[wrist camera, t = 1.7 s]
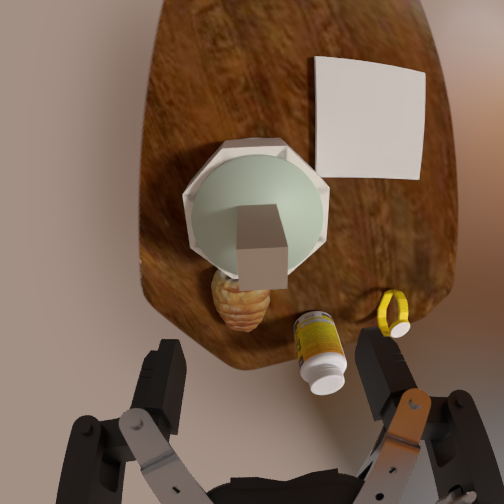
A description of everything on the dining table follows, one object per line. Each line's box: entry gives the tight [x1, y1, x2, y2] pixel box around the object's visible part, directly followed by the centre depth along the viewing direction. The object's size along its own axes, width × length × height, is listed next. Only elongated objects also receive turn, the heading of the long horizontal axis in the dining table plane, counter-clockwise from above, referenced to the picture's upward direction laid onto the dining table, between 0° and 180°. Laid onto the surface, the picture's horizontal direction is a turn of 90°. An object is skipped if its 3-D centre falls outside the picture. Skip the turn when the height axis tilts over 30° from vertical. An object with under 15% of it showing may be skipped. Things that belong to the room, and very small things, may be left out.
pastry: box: [211, 269, 270, 332], centre depth 34 cm, size 9×7×4 cm
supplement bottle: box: [293, 311, 347, 395], centre depth 34 cm, size 6×6×10 cm
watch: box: [377, 290, 410, 338], centre depth 34 cm, size 6×3×6 cm, turn 174°
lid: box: [191, 154, 323, 291], centre depth 21 cm, size 11×11×8 cm
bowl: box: [182, 137, 330, 279], centre depth 27 cm, size 12×12×6 cm
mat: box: [314, 56, 425, 180], centre depth 25 cm, size 12×12×1 cm
